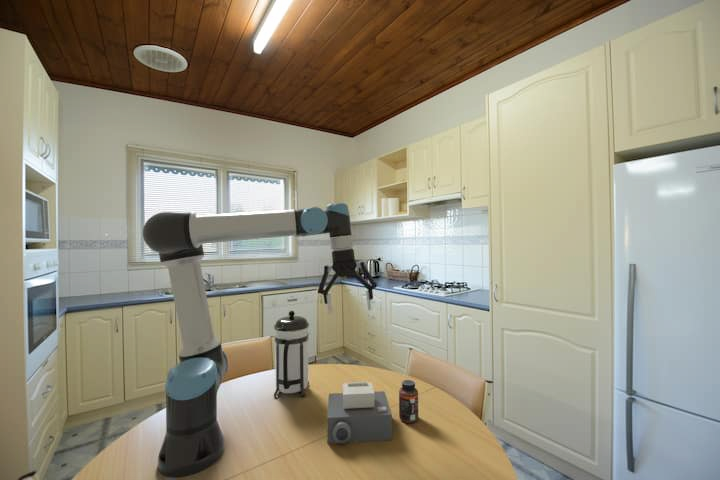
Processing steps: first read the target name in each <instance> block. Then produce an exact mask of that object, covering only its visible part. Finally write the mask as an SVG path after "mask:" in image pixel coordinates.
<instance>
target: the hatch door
mask: <svg viewBox="0 0 720 480" xmlns="http://www.w3.org/2000/svg"><path fill="white" fill-rule="evenodd" d="M374 392H375V390H374V387H373V382H368V381H355V382H351V381H350V382H347V383H342V393H343V409H346V408H367V407H374Z"/></svg>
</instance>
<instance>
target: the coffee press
mask: <svg viewBox="0 0 720 480" xmlns="http://www.w3.org/2000/svg"><path fill="white" fill-rule="evenodd" d="M309 326H310V323H309V322H308V320H307V319H306V318H305V317H304V316H299V315H296V314H295V311H294V310H289V312H288V316H284V317H281V318H278V320H276V322H275V324H274V326H273V328H274V331H275V332H274V342H275V343H274V344H275V345H274V346H275V348H274V352H275V353H274V354H275V356H274V358H275V359H274V363H275V366H274V367H275V369H274V370H275V372H274V374H275V388H276V389H275V392H274V394H273V397H274V398H276V399H279V397H280V396H281V394H282V393H283V394H296V393H298V394H299V397H301V398H304V397H306V396H307V395H306V391H305V389H306V388H307V387H308V386H309V384H310V381H309V338H310V337H309V336H310V335H309Z"/></svg>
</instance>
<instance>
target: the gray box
mask: <svg viewBox="0 0 720 480" xmlns="http://www.w3.org/2000/svg"><path fill="white" fill-rule="evenodd" d="M326 416H327V417H326V418H327V419H326V425H327V427H326V429H327V430H326V433H327V434H326V435H327V437H326V438H327V441H326V442H327V444H346V443H359V442H360V443H362V442H380V441H381V442H382V441H393V415H392V410H391V407H390V405H389V401H388V399H387V395H386V392H385V391H383V390H382V391H374V407H367V408H346V409H343V392H339V393H338V392H337V393H336V392H335V393H328V400H327V415H326Z"/></svg>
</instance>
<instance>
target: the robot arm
mask: <svg viewBox="0 0 720 480" xmlns="http://www.w3.org/2000/svg"><path fill="white" fill-rule="evenodd" d="M323 234H329V241H330V249H331V250H332V251H331V258H332V265H329V264H326V265H324V267H323V274H322V277H321V280H320V284H319V287H318V290H317V293H318V294H321V295H323V302H324V304H325V305H327V311H328V314H329V315H331V314H332V313H333V312H334V311H333V305H332V297H331V296H332V295H331V292H330V290H331V289H332V287H333V285H334V284H335V283H336V281H337V280H338V278H339V277H340V278H344V277H346V278H347V277H351V276H353V277H354V278H355V280H357V281H358V282H360V283H361V285H362V286H364V288H366V291H365V293H366V294H365V295H366V302H367V309H368V310H367V311H368V312H370V311H371V310H372V303H371V301H372V300H373V299H374V294H373V293H374V292H373V289H376V288H377V287H378V284H377V281H376V280H375V279H374V278H373V276H372V275H371V272H370V271H369V270H368V268H367V266H366V263H365V261H364V260H361V261H359V262H356V257H355V249H353V247H354V242H353V235H352V225H351V215H350V211H349V206H348V204H347V203H344V202H336V203H332V204H331V203H329V204H327V205H326V206H325V210H323V209H322V208H320V207H318V206H309V207H307V208H297V209H281V210H267V211H265V210H264V211H250V212H235V213H220V214H218V213H217V214H205V215H204V214H202V215H200V214H197V213H196V212H194V211H190V212H172V211H163V212H158V213H156V214H153V215H152V216H151V217H150V218H148V219H147V220H146V221H145V223H144V225H143V227H142V238H143V241H144V243H145V244H146V246H147V247H148V248H149V249H150V250H152V251H153V252H155V253H158V255H159V260H160V261H159V262H160V264H161V265H163V266H165V267H166V268H167V271H168V275H169V280H170V286H171V290H172V296H173V301H174V307H175V311H176V312H175V313H176V317H177V321H178V326H179V331H180V337H181V338H180V339H181V344H182V348H181V349H180V351H178V359H179V363H177V364H175V365H174V366H173V367H171V369H169V371H168V372H167V375H166V380H165V388H164V389H165V409H166V410H165V411H166V412H165V418H166V422H165V423H166V428H165V430H166V431H165V435H164V439H163V441H162V444H161V447H160V451H159V454H158V457H157V469H158V472H160V473H161V474H163V475H164V476H167V477H175V478H177V477H183V476H184V477H185V476H188V475H192V474H195V473H198V472H200V471H202V470H204V469H206V468H208V467H210V466H211V465H213V464H214V463H215V462H216V461H218V459H219V458H221V456H222V455H223V454H224V453H223V452H224V450H225V438H224V435H223V432H222V430H221V427H220V425H219V422H218V413H217V412H218V406H217V404H218V401H217V400H218V399H217V397H218V391H219V389H220V386H221V384H222V383H223V380H224V378H225V377H226V374H227V372H228V367H229V363H228V360H229V359H228V356H227V354H226V353H225V351H224V350H223V347H222V342H221V340H220V339H218V338H217V337H215V333H214V328H213V324H212V319H211V314H210V308H209V303H208V297H207V292H206V287H205V283H204V276H203V271H202V266H201V261H202V260H203V258H204V257H205V251H204V248H203V247H204V246H203V244H213V243H214V244H216V243H225V242H226V243H228V242H234V241H235V242H237V241H249V240H259V239H271V238H283V237H284V238H285V237H296V238H299V237H303V238H304V237H309V236H316V235H323ZM357 267H358V268H359V269H361V271H362V272H363V274H364V275H365V277H366V279H367V280H368V281H369V282H368V281H367V280H366V279H365V278H364V277H363V276H361V274H360V273H358V272H357V270H356V269H357ZM332 270H333V272H334V274H333V276H332V278H331V280H330V281H329V282H328V284H327V285H326V282H327V280H328V278H329V274H330V272H331V271H332ZM324 288H325V289H324Z"/></svg>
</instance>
